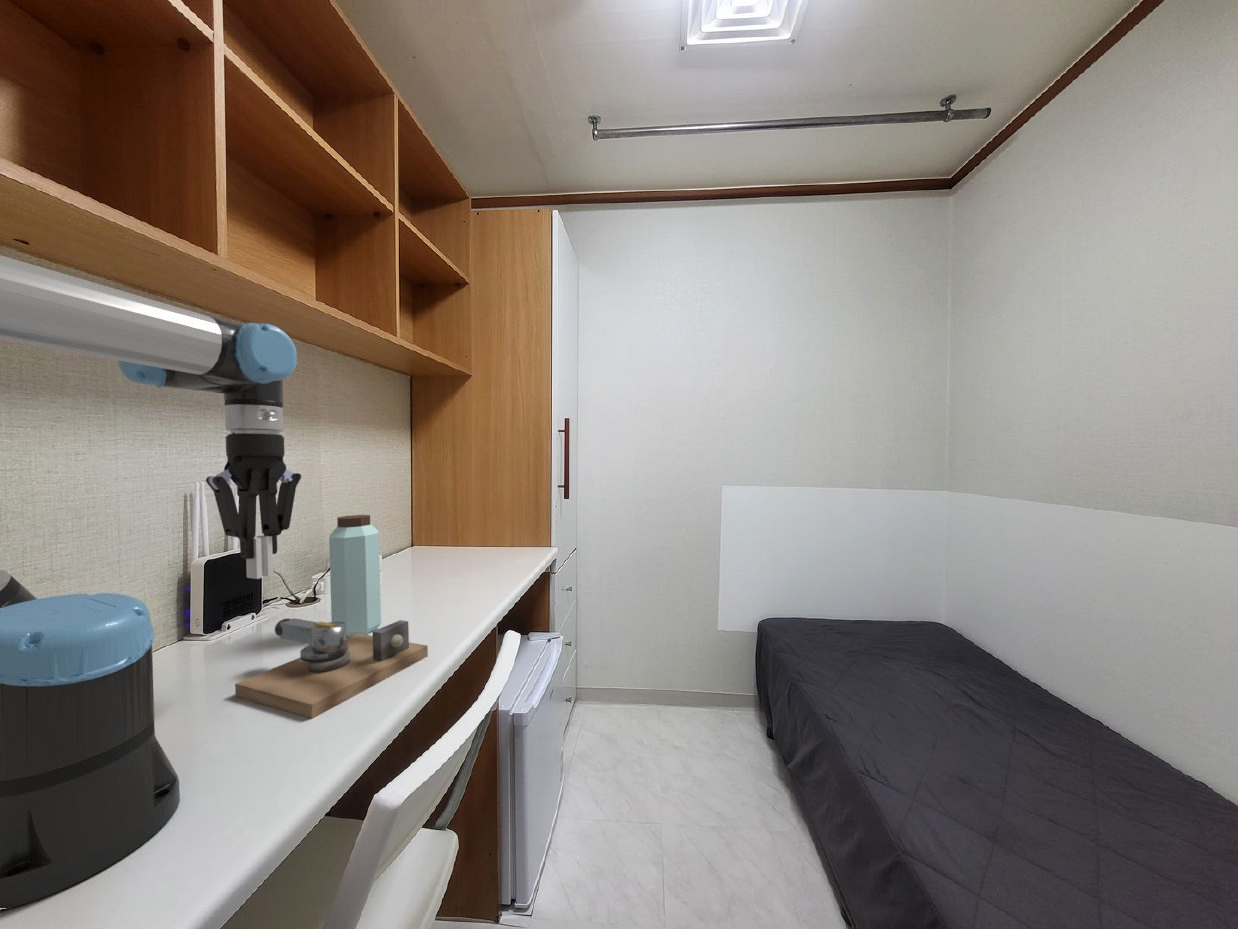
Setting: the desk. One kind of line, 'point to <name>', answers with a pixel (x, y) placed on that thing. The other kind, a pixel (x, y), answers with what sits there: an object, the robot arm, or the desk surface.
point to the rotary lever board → (334, 673)
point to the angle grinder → (315, 638)
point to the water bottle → (355, 575)
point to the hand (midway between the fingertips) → (260, 576)
